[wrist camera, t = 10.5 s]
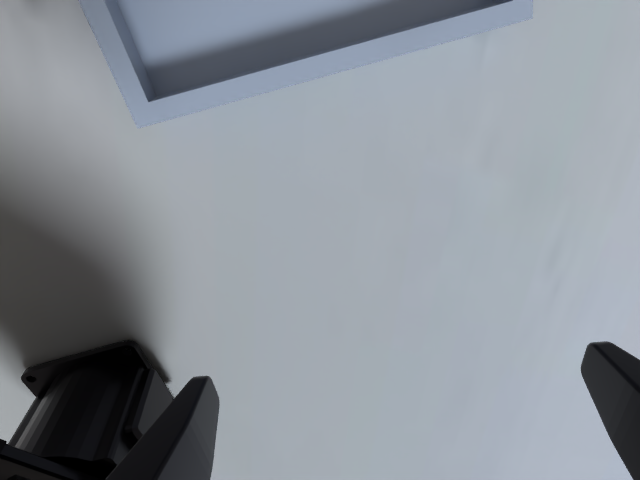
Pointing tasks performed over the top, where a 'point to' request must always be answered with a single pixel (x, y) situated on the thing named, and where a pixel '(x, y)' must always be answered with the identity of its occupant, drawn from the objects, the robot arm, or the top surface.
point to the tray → (266, 43)
